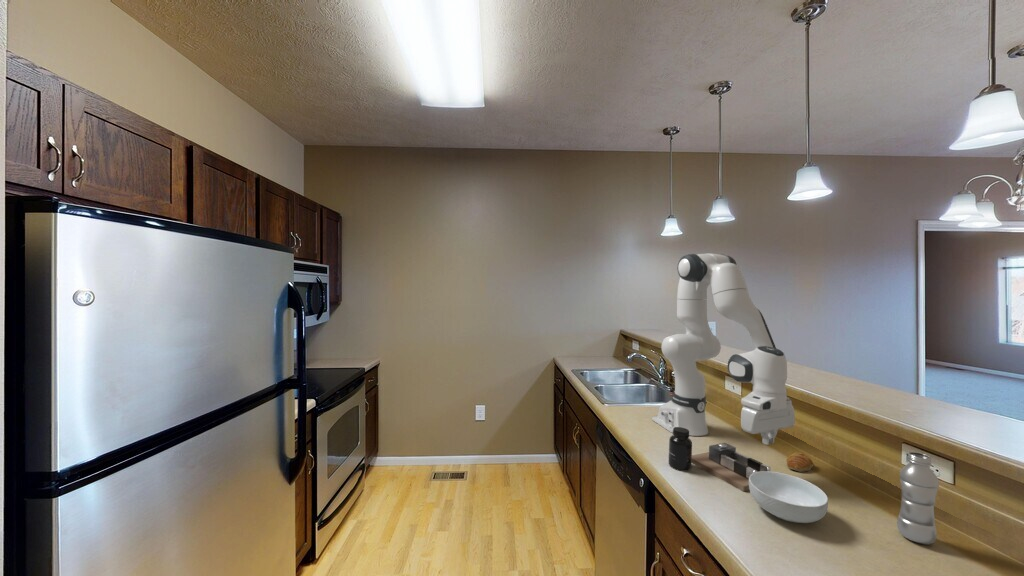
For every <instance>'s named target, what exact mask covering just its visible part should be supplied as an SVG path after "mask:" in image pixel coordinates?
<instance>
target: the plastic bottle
mask: <svg viewBox="0 0 1024 576" xmlns="http://www.w3.org/2000/svg"><path fill="white" fill-rule="evenodd" d="M907 455H908V457H907V461H908V463H907V464H905V465H903V467H902V468H900V471H899V480H900V488H901V503H900V507H899V508H900V510H899V514H898V517H897V520H896V528H897V530H898V532H899V533H900V535H901V536H902V537H904V538H906V540H910V541H912V542H914V543H918V544H921V545H927V546H929V545H933V543H935V542H936V539H937V537H938V533H937V527H936V522H935V505H936V498H937V495H938V491H939V485H940V480H939V477H938V476H937V475H936V474H935V472H934V471H933V470H932V468H930V467H932V459H931V457H930V456H929V455H927V454H925V453H922V452H917V451H916V452H915V451H910V452H909V451H908V454H907Z"/></svg>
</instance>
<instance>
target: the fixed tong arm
mask: <svg viewBox="0 0 1024 576" xmlns="http://www.w3.org/2000/svg"><path fill="white" fill-rule="evenodd" d="M721 465H723V466H725V467H727V468H729V469H731V470H733V471H734V472H736V473H738V474H740V475H741V476H743V477H745V478H748V479H749V477H750V475H751V474H753V473H755V472H757V471H756V470H754V469H752V468H750V467H749V466H747V465H745V464H743V463H741V462H739V461H736V460H734V459H731V458H729V457H727V456H725V455H721Z"/></svg>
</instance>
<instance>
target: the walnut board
mask: <svg viewBox="0 0 1024 576" xmlns="http://www.w3.org/2000/svg"><path fill="white" fill-rule="evenodd" d="M691 464H693V465H694V464H695V465H694V466H696V467H698V468H700V469H701V470H703V469H704V470H703V471H705V472H707V473H709V474H710V475H713V476H715V477H716V478H718V479H720V480H721V481H723V482H725V483H727V484H729V485H730V486H733V488H734V487H735V489H738V490H740V491H741V492H747V491H750V489H749V479H748V478H745V477H743V476H741V475H740V474H738V473H736V472H734V471H733V470H731V469H729V468H727V467H725V466H723V465H719V464H717V463H715V462H713V461H711V460H709V451H708V452H702V453H699V454H694V455H693V454H692V460H691Z"/></svg>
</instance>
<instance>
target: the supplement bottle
mask: <svg viewBox="0 0 1024 576" xmlns="http://www.w3.org/2000/svg"><path fill="white" fill-rule="evenodd" d="M692 455H693V442H692V440H691V439H690V435H689V430H687V429H685V428H682V427H674V428H673V433H672V435H671V436H670V437H669V441H668V465H669V466H670V467H671V468H672V467H673V469H674V468H675V470H677V469H678V470H677V471H681V470H687V471H690V470H691V468H692V463H691V460H692Z"/></svg>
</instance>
